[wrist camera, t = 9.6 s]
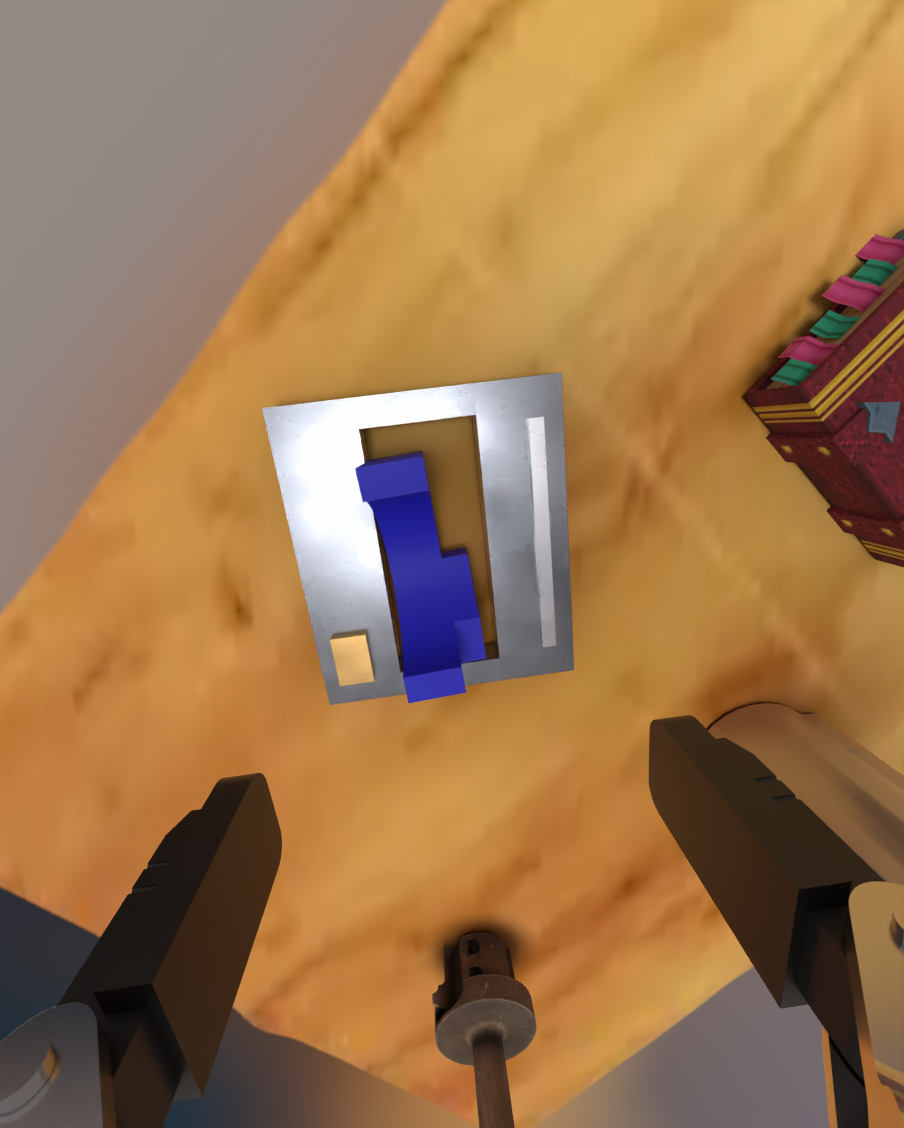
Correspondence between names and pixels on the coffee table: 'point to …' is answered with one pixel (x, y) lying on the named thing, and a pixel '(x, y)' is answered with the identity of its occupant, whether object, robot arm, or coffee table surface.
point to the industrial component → (483, 1020)
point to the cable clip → (423, 579)
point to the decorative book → (849, 401)
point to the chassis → (354, 543)
